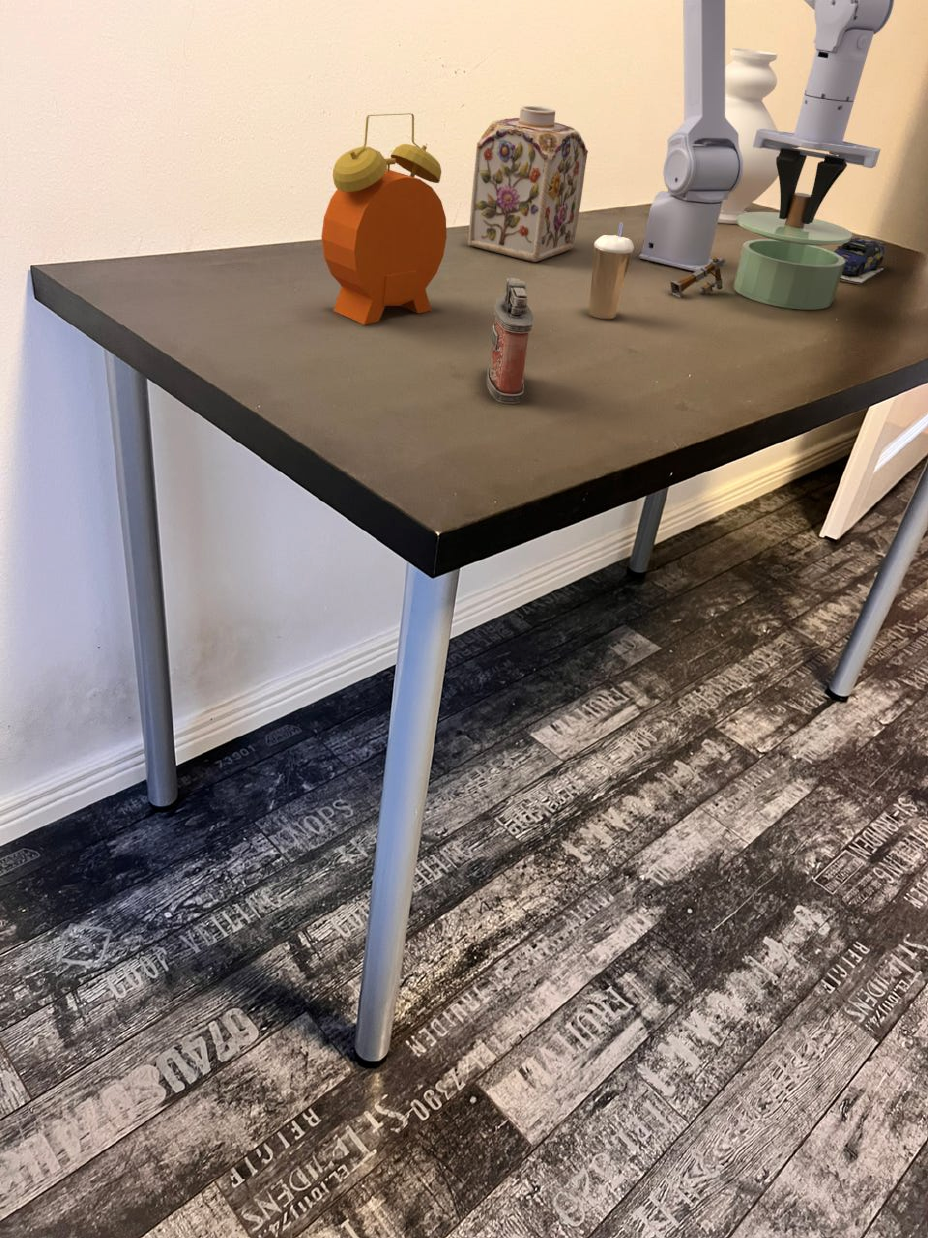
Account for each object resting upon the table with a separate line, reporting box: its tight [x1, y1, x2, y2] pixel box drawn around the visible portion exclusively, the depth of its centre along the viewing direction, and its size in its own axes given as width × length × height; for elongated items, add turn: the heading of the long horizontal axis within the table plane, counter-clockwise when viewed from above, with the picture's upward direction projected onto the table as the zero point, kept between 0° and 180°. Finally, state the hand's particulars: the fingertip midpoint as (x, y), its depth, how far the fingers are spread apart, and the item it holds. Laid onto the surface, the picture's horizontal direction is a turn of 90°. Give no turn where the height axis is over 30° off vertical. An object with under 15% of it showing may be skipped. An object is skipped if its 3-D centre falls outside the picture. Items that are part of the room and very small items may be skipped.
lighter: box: [486, 277, 534, 405], centre depth 90 cm, size 8×3×10 cm, turn 5°
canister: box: [733, 238, 845, 311], centre depth 128 cm, size 13×13×6 cm
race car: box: [832, 237, 886, 285], centre depth 142 cm, size 15×7×4 cm, turn 145°
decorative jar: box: [467, 105, 589, 263], centre depth 132 cm, size 12×12×18 cm
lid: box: [736, 192, 853, 247], centre depth 119 cm, size 14×14×5 cm
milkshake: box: [588, 222, 635, 320], centre depth 112 cm, size 4×5×10 cm
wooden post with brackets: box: [669, 257, 726, 298], centre depth 125 cm, size 2×8×4 cm, turn 117°
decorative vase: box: [718, 47, 780, 225], centre depth 161 cm, size 18×18×25 cm
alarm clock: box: [320, 112, 448, 326], centre depth 103 cm, size 13×6×20 cm, turn 134°
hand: (795, 220), depth 119 cm, fingers closed on lid, 2 cm apart
